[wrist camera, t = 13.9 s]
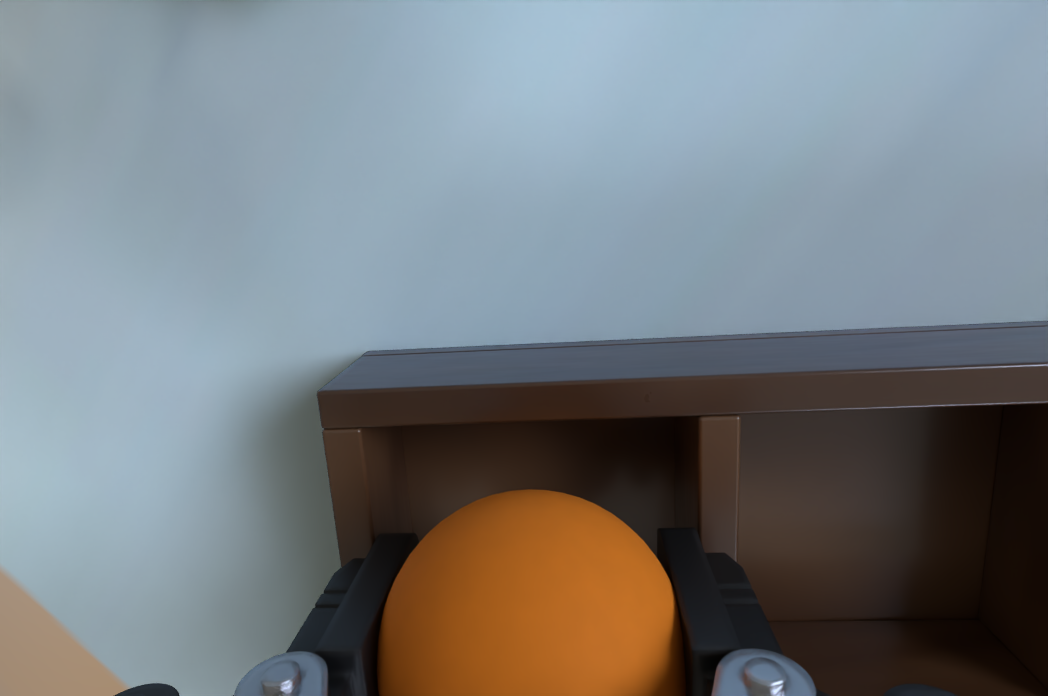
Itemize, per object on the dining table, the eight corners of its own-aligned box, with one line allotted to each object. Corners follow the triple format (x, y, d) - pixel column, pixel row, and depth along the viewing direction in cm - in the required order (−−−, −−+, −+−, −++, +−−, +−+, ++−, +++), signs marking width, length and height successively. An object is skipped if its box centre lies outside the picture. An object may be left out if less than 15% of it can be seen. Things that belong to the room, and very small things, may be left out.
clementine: (403, 447, 13) (302, 611, 8) (662, 439, 13) (727, 606, 7) (428, 665, 14) (353, 927, 9) (664, 664, 14) (722, 937, 9)
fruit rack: (367, 350, 15) (314, 391, 12) (1391, 305, 14) (1645, 338, 10) (427, 847, 19) (399, 980, 16) (1246, 861, 17) (1401, 1014, 14)
